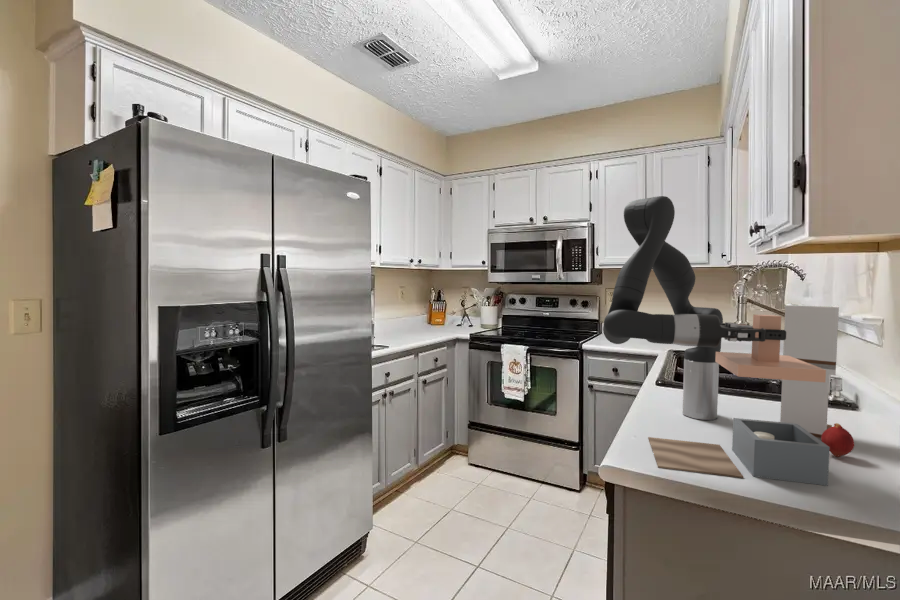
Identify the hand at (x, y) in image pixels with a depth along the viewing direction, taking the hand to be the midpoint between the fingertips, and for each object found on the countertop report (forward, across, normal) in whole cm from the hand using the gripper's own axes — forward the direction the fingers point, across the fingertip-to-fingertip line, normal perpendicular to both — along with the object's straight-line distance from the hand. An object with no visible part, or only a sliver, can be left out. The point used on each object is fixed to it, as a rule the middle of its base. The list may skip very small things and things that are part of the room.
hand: (780, 333), depth 96 cm
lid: (-3, 0, +8) cm, 9 cm away
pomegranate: (+16, +11, +30) cm, 36 cm away
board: (-17, 0, +30) cm, 34 cm away
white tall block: (+17, +27, +30) cm, 44 cm away
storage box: (0, 0, +30) cm, 30 cm away
